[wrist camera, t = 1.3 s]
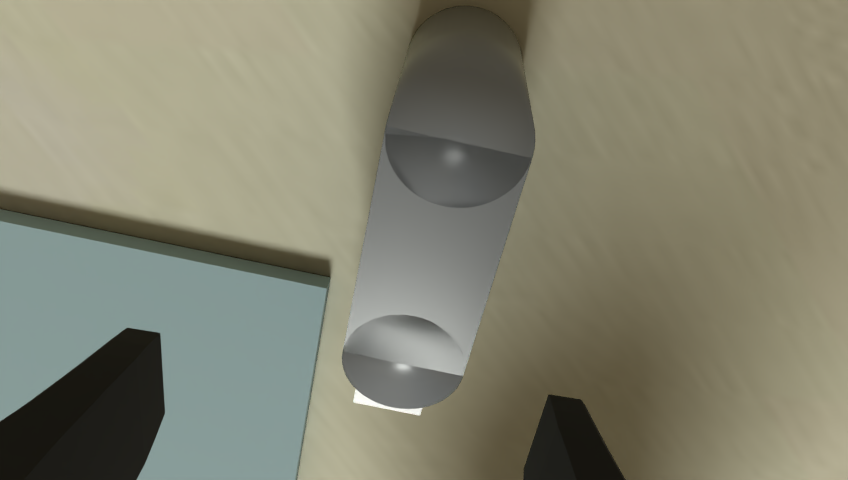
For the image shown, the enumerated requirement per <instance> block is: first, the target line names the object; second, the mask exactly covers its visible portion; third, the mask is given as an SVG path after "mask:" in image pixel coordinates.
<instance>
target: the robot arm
mask: <svg viewBox="0 0 848 480" xmlns="http://www.w3.org/2000/svg"><path fill="white" fill-rule="evenodd" d="M164 415H165V403H164V386H163V369H162V353H161V336H160V333H158V332H152V331H145V330H139V329H133V328H126V329H124V330H123V331H121V332H120V333H119V334H118V335H116V336H115V337H114V338H112V339H111V340H110V341H108V342H107V343H106V344H104V345H103V346H102V347H101V348H99V349H98V350H97V351H96V352H94V353H93V354H92V355H90V356H89V357H88V358H87V359H85V360H84V361H83V362H81V363H80V364H79V365H77V366H76V367H75V368H74V369H72V370H71V371H70V372H68V373H67V374H66V375H64V376H63V377H62V378H60V379H59V380H58V381H56V382H55V383H54V384H52V385H51V386H50V387H48V388H47V389H45V390H44V391H43V392H41V393H40V394H39V395H37V396H36V397H35V398H33V399H32V400H30V401H29V402H28V403H26V404H25V405H23V406H22V407H21V408H19V409H18V410H16V411H15V412H13V413H12V414H10V415H9V416H7V417H6V418H4V419H3V420H1V421H0V480H137V478H138V476H139V474H140V472H141V470H142V469H143V467H144V465H145V463H146V460H147V458H148V455H149V453H150V450H151V448H152V446H153V443H154V441H155V438H156V436H157V433H158V430H159V428H160V425H161V423H162V420H163V417H164ZM524 480H625V478H624V476H623V475H622V473H621V471H620V469H619V468H618V466H617V464H616V462H615V461H614V459H613V457H612V455H611V453H610V452H609V450H608V448H607V446H606V444H605V442H604V441H603V439H602V437H601V435H600V433H599V431H598V429H597V427H596V425H595V423H594V422H593V420H592V418H591V416H590V414H589V412H588V410H587V408H586V406H585V404H584V403H583V402H582V400H580V399H574V398H567V397H561V396H555V395H548V398H547V401H546V404H545V407H544V410H543V413H542V416H541V419H540V422H539V425H538V428H537V431H536V434H535V437H534V440H533V443H532V446H531V449H530V452H529V455H528V458H527V461H526V464H525V467H524Z"/></svg>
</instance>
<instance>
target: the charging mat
mask: <svg viewBox="0 0 848 480" xmlns="http://www.w3.org/2000/svg"><path fill="white" fill-rule="evenodd" d="M329 283H330V277H325V276H321V275H316V274H311V273H306V272H301V271H296V270H292V269H287V268H282V267H277V266H272V265H268V264H263V263H258V262H253V261H248V260H243V259H239V258H234V257H229V256H224V255H219V254H215V253H210V252H205V251H200V250H195V249H190V248H186V247H181V246H176V245H171V244H166V243H162V242H157V241H152V240H147V239H142V238H137V237H133V236H128V235H123V234H118V233H113V232H108V231H104V230H99V229H94V228H89V227H84V226H80V225H75V224H70V223H65V222H60V221H55V220H51V219H46V218H41V217H36V216H31V215H27V214H22V213H17V212H12V211H7V210H2V209H0V421H1V420H3V419H4V418H6V417H7V416H9V415H10V414H12V413H13V412H15V411H16V410H18V409H19V408H21V407H22V406H23V405H25V404H26V403H28V402H29V401H30V400H32V399H33V398H35V397H36V396H37V395H39V394H40V393H41V392H43V391H44V390H45V389H47V388H48V387H50V386H51V385H52V384H54V383H55V382H56V381H58V380H59V379H60V378H62V377H63V376H64V375H66V374H67V373H68V372H70V371H71V370H72V369H74V368H75V367H76V366H77V365H79V364H80V363H81V362H83V361H84V360H85V359H87V358H88V357H89V356H90V355H92V354H93V353H94V352H96V351H97V350H98V349H99V348H101V347H102V346H103V345H104V344H106V343H107V342H108V341H110V340H111V339H112V338H114V337H115V336H116V335H118V334H119V333H120V332H121V331H123V330H124V329H126V328H133V329H139V330H145V331H152V332H158V333H160V336H161V353H162V369H163V386H164V403H165V415H164V417H163V420H162V423H161V425H160V428H159V430H158V433H157V436H156V438H155V441H154V443H153V446H152V448H151V450H150V453H149V455H148V458H147V460H146V463H145V465H144V467H143V469H142V470H141V472H140V474H139V476H138V478H137V480H297V475H298V469H299V463H300V457H301V451H302V445H303V439H304V433H305V427H306V421H307V415H308V409H309V403H310V397H311V391H312V385H313V379H314V373H315V367H316V361H317V355H318V349H319V343H320V337H321V331H322V325H323V319H324V313H325V307H326V301H327V295H328V289H329Z"/></svg>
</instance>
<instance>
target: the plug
mask: <svg viewBox="0 0 848 480" xmlns="http://www.w3.org/2000/svg"><path fill="white" fill-rule="evenodd" d="M534 148H535V129H534V123H533V117H532V112H531V106H530V100H529V94H528V89H527V83H526V77H525V72H524V66H523V60H522V55H521V49H520V46H519V43H518V40H517V38H516V36H515V34H514V33H513V31H512V30H511V28H510V27H509V26H508V25H507V24H506V23H505V22H504V21H503V20H502V19H501V18H500V17H498V16H497V15H495V14H493V13H492V12H489V11H487V10H485V9H481V8H478V7H472V6H458V7H452V8H448V9H445V10H442V11H440V12H438V13H436V14H434V15H433V16H431V17H430V18H429V19H427V20H426V21H425V22H424V23H423V24H422V25H421V26H420V27H419V29H418V30H417V31H416V33H415V34H414V36H413V38H412V40H411V43H410V45H409V48H408V52H407V55H406V59H405V62H404V65H403V69H402V72H401V76H400V79H399V82H398V86H397V89H396V93H395V96H394V99H393V103H392V106H391V109H390V113H389V116H388V120H387V124H386V128H385V133H384V139H383V144H382V149H381V154H380V159H379V165H378V170H377V175H376V180H375V186H374V191H373V196H372V201H371V207H370V212H369V217H368V222H367V227H366V233H365V238H364V243H363V248H362V254H361V259H360V264H359V269H358V275H357V280H356V285H355V290H354V295H353V301H352V306H351V311H350V316H349V322H348V327H347V332H346V337H345V342H344V348H343V354H342V364H343V368H344V371H345V374H346V376H347V378H348V379H349V381H350V383H351V384H352V385H353V386H354V387H355V388H356V391H355V396H354V400H353V402H354V403H359V404H364V405H369V406H374V407H379V408H384V409H389V410H394V411H399V412H404V413H409V414H414V415H419V416H420V414H421V411H422V408H423V407H427V406H431V405H433V404H436V403H438V402H440V401H442V400H444V399H445V398H447V397H448V396H449V395H450V394H452V393H453V392H454V391H455V389H456V388H457V387H458V385H459V384H460V382H461V380H462V378H463V375H464V372H465V369H466V365H467V362H468V359H469V356H470V353H471V350H472V347H473V343H474V340H475V337H476V334H477V331H478V328H479V324H480V321H481V318H482V315H483V312H484V309H485V306H486V302H487V299H488V296H489V293H490V290H491V287H492V283H493V280H494V277H495V274H496V271H497V268H498V265H499V261H500V258H501V255H502V252H503V249H504V246H505V242H506V239H507V236H508V233H509V230H510V227H511V224H512V220H513V217H514V214H515V211H516V208H517V205H518V201H519V198H520V195H521V192H522V189H523V186H524V183H525V179H526V176H527V173H528V170H529V167H530V164H531V160H532V157H533V153H534Z"/></svg>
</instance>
